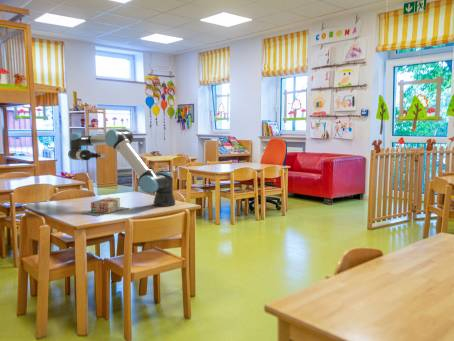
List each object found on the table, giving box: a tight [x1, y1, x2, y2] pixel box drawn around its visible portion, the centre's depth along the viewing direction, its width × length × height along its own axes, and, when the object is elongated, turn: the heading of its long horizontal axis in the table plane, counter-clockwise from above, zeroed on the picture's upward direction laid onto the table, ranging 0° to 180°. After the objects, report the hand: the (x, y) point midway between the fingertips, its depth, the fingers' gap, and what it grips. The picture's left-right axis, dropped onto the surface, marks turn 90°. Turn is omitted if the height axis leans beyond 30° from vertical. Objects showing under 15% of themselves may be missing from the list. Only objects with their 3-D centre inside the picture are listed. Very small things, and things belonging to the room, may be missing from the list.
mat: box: [82, 206, 130, 217], centre depth 266 cm, size 13×28×1 cm, turn 150°
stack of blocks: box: [90, 197, 121, 214], centre depth 269 cm, size 21×6×12 cm
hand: (104, 155), depth 286 cm, fingers closed
